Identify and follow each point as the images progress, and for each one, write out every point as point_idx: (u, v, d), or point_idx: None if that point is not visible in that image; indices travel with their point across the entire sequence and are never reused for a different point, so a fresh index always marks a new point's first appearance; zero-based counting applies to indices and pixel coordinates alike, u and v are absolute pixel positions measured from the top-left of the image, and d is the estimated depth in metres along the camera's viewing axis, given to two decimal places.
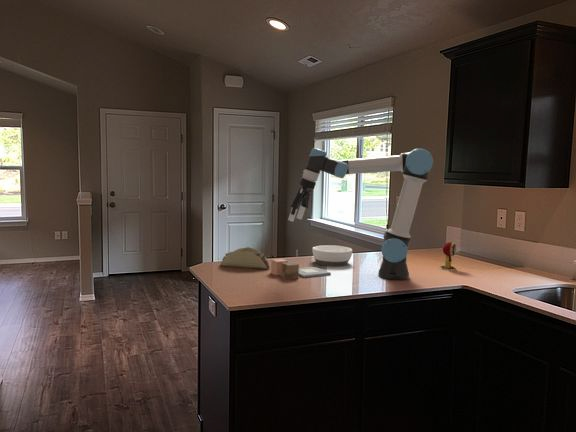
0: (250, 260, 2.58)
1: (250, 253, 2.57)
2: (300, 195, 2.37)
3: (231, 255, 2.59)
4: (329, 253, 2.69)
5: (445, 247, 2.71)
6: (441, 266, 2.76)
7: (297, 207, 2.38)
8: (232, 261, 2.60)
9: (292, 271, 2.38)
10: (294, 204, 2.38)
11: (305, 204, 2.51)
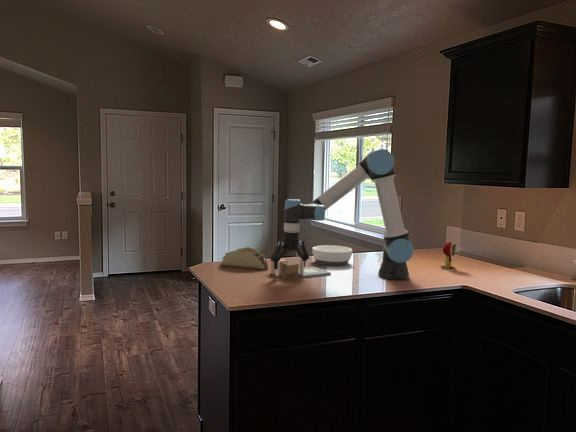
0: (249, 260, 2.58)
1: (248, 253, 2.56)
2: (277, 248, 2.36)
3: (230, 255, 2.60)
4: (329, 253, 2.69)
5: (445, 247, 2.71)
6: (441, 266, 2.76)
7: (277, 261, 2.36)
8: (231, 261, 2.61)
9: (292, 271, 2.38)
10: (275, 258, 2.37)
11: (302, 257, 2.43)
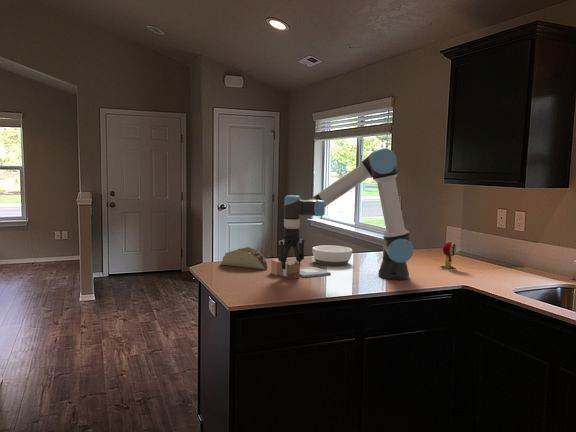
0: (248, 260, 2.58)
1: (247, 253, 2.56)
2: (280, 248, 2.37)
3: (230, 254, 2.61)
4: (329, 253, 2.69)
5: (445, 247, 2.71)
6: (441, 266, 2.76)
7: (284, 261, 2.38)
8: (231, 260, 2.62)
9: (293, 270, 2.39)
10: None
11: (297, 256, 2.42)
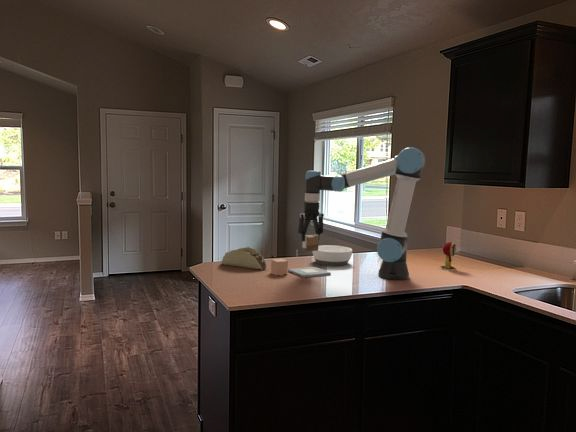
0: (246, 260, 2.58)
1: (246, 253, 2.56)
2: (301, 220, 2.46)
3: (229, 254, 2.61)
4: (329, 253, 2.69)
5: (445, 247, 2.71)
6: (441, 266, 2.76)
7: (304, 233, 2.47)
8: (230, 260, 2.62)
9: (312, 243, 2.48)
10: None
11: (317, 230, 2.51)
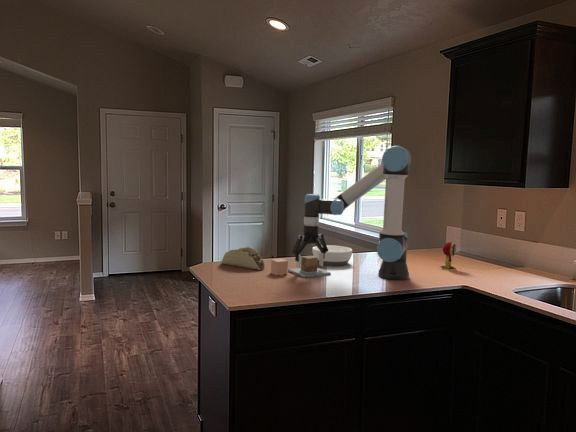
0: (244, 260, 2.58)
1: (244, 253, 2.57)
2: (298, 241, 2.47)
3: (228, 254, 2.63)
4: (329, 253, 2.69)
5: (445, 247, 2.71)
6: (441, 266, 2.76)
7: (298, 253, 2.46)
8: (229, 260, 2.63)
9: (311, 264, 2.49)
10: None
11: (321, 250, 2.54)
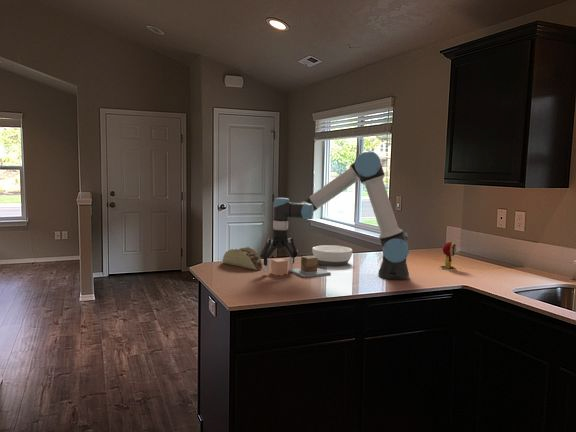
0: (242, 259, 2.58)
1: (241, 253, 2.57)
2: (267, 245, 2.43)
3: (228, 253, 2.64)
4: (329, 253, 2.69)
5: (445, 247, 2.71)
6: (441, 266, 2.76)
7: (266, 257, 2.43)
8: (229, 259, 2.65)
9: (311, 264, 2.49)
10: None
11: (291, 254, 2.50)
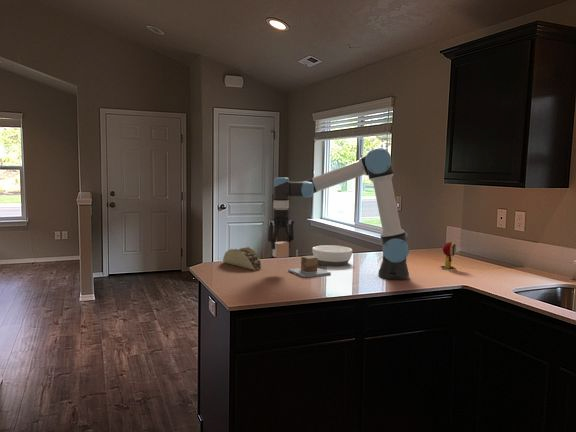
0: (241, 259, 2.58)
1: (240, 253, 2.57)
2: (270, 228, 2.43)
3: (228, 253, 2.65)
4: (329, 253, 2.69)
5: (445, 247, 2.71)
6: (441, 266, 2.76)
7: (274, 241, 2.44)
8: (229, 259, 2.65)
9: (311, 264, 2.49)
10: (272, 239, 2.45)
11: (287, 237, 2.48)
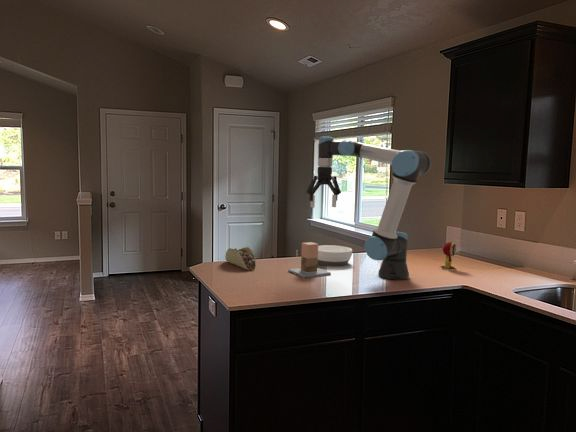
0: (237, 259, 2.59)
1: (236, 252, 2.58)
2: (312, 181, 2.56)
3: (228, 252, 2.67)
4: (329, 253, 2.69)
5: (445, 247, 2.71)
6: (441, 266, 2.76)
7: (312, 193, 2.56)
8: (229, 258, 2.68)
9: (311, 264, 2.49)
10: None
11: (334, 191, 2.63)
